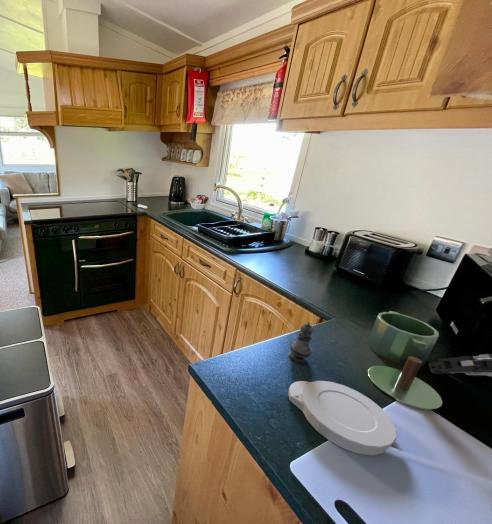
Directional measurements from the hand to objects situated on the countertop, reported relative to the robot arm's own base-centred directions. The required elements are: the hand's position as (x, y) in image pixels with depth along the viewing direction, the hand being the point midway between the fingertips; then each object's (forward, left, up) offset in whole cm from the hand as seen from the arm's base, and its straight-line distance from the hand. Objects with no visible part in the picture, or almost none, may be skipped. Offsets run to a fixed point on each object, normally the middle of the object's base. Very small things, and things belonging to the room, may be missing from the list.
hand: (450, 369), depth 63 cm
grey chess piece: (+27, -8, -13) cm, 31 cm away
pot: (-1, -25, -12) cm, 28 cm away
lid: (+21, +11, -12) cm, 27 cm away
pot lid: (+3, -7, -12) cm, 14 cm away
